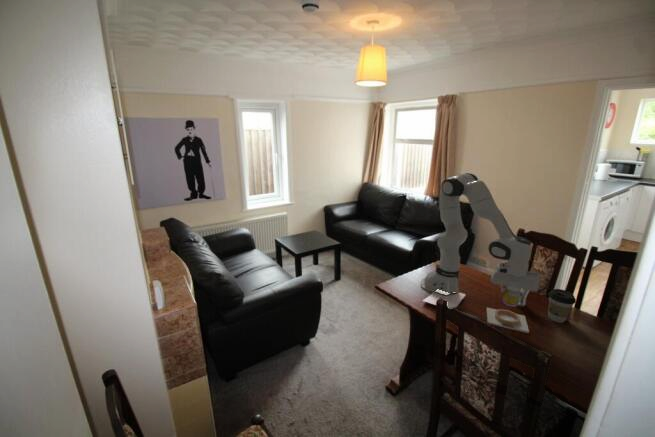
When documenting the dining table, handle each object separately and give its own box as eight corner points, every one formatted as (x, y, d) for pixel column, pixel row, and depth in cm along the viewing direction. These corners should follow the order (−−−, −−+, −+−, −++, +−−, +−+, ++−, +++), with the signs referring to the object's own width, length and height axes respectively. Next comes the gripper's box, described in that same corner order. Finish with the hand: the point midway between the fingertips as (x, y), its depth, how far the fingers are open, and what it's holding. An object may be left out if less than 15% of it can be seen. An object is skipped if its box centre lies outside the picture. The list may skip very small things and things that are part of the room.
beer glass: (528, 307, 167) (533, 283, 162) (514, 306, 168) (519, 282, 164) (523, 300, 173) (528, 277, 169) (510, 299, 175) (514, 276, 170)
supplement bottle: (504, 298, 157) (508, 276, 153) (518, 302, 153) (523, 280, 149) (501, 304, 152) (505, 281, 148) (516, 308, 148) (521, 285, 144)
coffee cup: (538, 314, 160) (544, 290, 156) (552, 310, 164) (558, 286, 160) (560, 327, 150) (567, 301, 146) (575, 322, 154) (582, 297, 150)
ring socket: (487, 323, 154) (488, 318, 153) (486, 309, 166) (487, 304, 165) (528, 333, 146) (529, 328, 145) (524, 317, 158) (525, 312, 157)
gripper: (540, 270, 145) (535, 295, 150) (493, 263, 154) (489, 286, 158) (543, 276, 140) (537, 302, 144) (493, 268, 148) (489, 292, 153)
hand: (511, 294), depth 151 cm, fingers closed on supplement bottle, 7 cm apart
